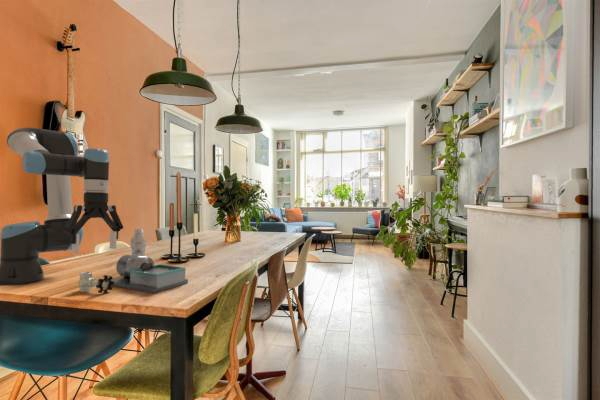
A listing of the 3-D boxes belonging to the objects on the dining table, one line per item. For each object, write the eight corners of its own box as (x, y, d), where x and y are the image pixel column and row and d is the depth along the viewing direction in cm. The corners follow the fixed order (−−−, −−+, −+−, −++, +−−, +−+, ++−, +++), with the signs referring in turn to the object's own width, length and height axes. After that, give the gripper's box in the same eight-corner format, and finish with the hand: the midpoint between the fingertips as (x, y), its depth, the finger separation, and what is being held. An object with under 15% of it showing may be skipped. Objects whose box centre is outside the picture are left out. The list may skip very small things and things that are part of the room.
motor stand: (105, 284, 126) (106, 257, 126) (142, 275, 141) (143, 251, 141) (153, 293, 115) (154, 264, 115) (187, 282, 131) (188, 257, 131)
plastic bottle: (145, 274, 144) (146, 229, 144) (128, 275, 142) (129, 229, 142) (146, 271, 150) (147, 228, 150) (130, 271, 148) (131, 228, 148)
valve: (72, 292, 115) (97, 296, 111) (73, 274, 115) (98, 277, 111) (89, 288, 121) (114, 291, 117) (90, 270, 121) (114, 273, 117)
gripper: (65, 190, 103) (64, 256, 103) (133, 193, 126) (133, 247, 125) (51, 190, 106) (50, 254, 106) (120, 193, 129) (120, 246, 128)
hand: (95, 250), depth 116 cm, fingers open, 13 cm apart
